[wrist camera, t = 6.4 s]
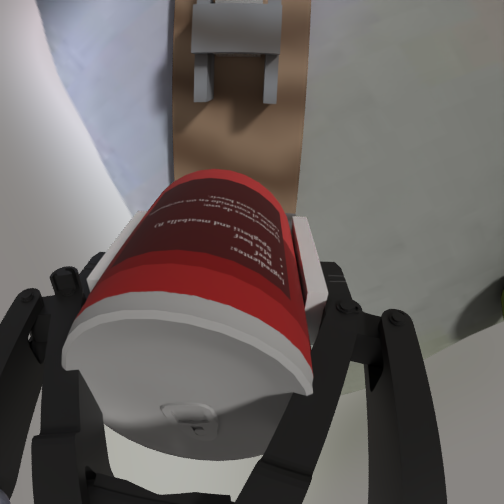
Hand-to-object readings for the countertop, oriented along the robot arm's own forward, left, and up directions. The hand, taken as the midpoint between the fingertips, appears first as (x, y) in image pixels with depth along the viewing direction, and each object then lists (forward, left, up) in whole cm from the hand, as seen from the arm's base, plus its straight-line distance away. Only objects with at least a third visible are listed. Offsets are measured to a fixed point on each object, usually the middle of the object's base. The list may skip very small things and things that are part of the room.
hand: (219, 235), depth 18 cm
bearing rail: (-7, 0, -15) cm, 17 cm away
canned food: (0, 0, 0) cm, 0 cm away
